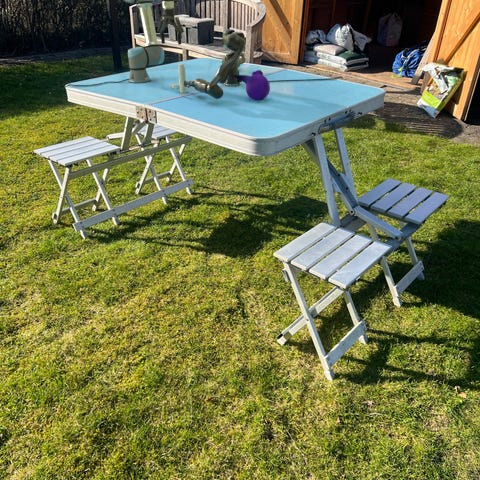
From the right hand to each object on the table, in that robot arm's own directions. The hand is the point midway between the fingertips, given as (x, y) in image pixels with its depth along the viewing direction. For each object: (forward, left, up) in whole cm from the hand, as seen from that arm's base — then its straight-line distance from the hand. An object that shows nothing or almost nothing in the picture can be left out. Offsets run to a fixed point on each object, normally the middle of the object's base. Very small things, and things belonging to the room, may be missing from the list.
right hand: (190, 81), depth 291 cm
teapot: (-70, -61, -9) cm, 93 cm away
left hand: (-1, -28, +20) cm, 34 cm away
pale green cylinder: (0, -12, -9) cm, 14 cm away
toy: (-27, +32, -9) cm, 43 cm away
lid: (-1, -27, -7) cm, 28 cm away
